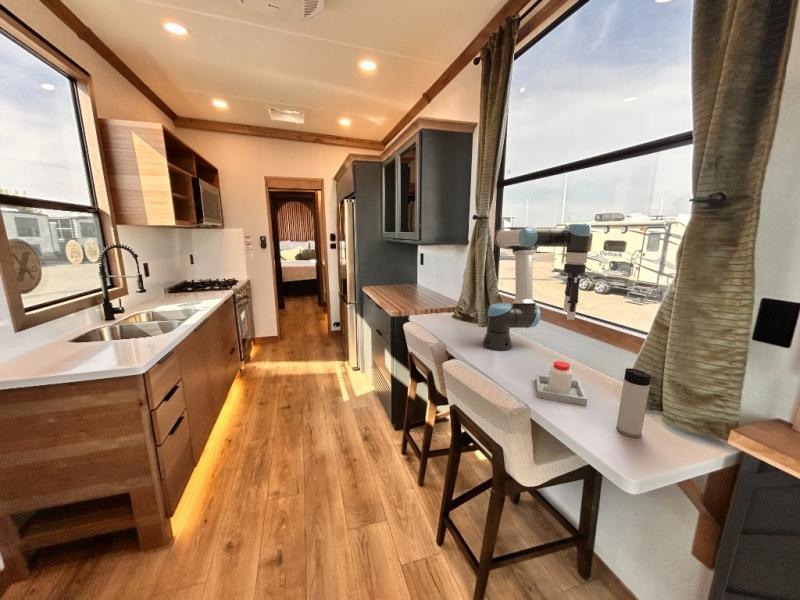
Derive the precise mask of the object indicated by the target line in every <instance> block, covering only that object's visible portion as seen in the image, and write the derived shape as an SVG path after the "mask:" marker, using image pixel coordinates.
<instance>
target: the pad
mask: <svg viewBox="0 0 800 600" xmlns="http://www.w3.org/2000/svg"><path fill="white" fill-rule="evenodd" d="M542 389H543V391H547V392H550V391H549V390H548V384H546V385H544V386H543V388H542ZM569 395H572V396H576V393H575V391H574V390H573V389H572V388H571V390H570V394H569Z"/></svg>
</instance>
